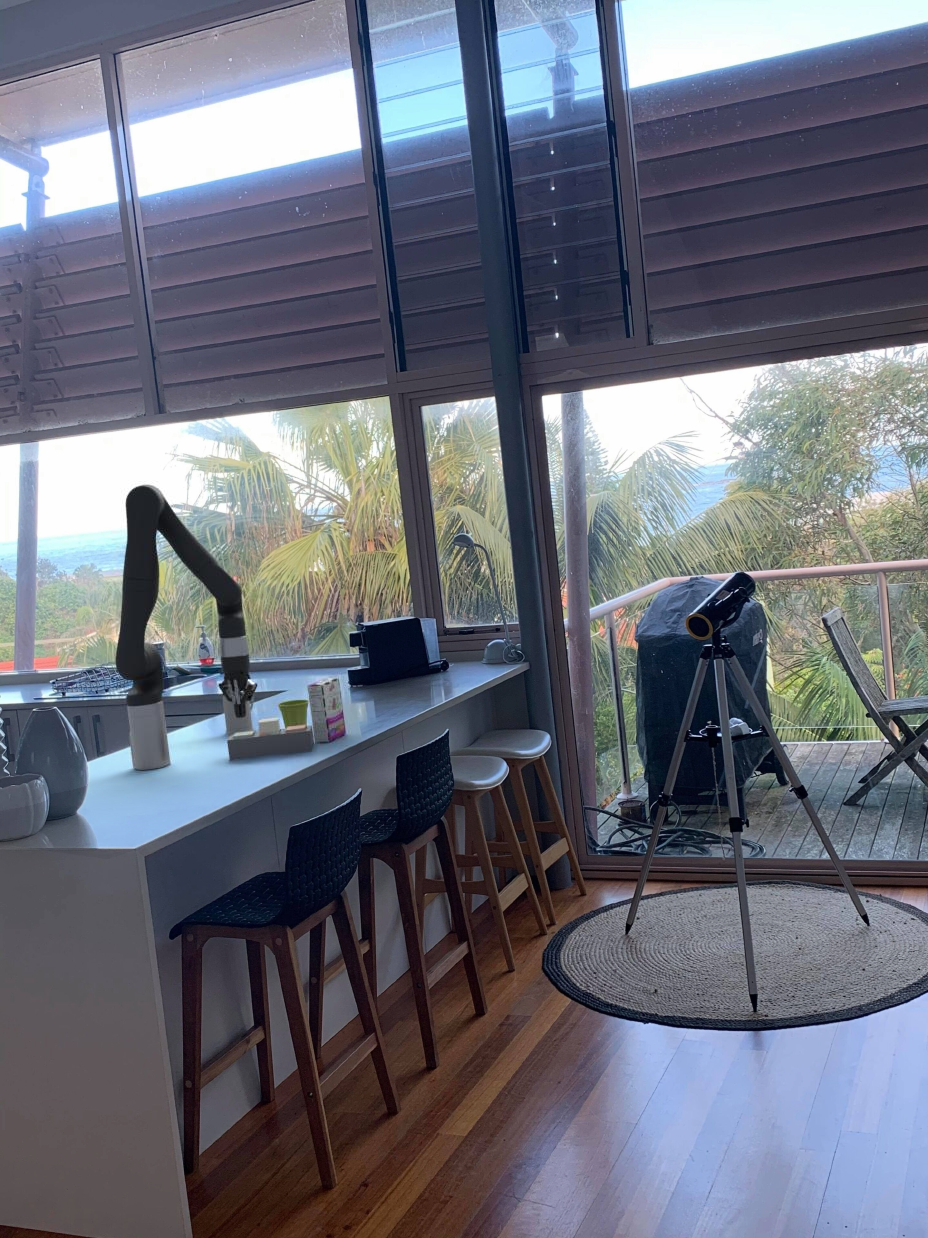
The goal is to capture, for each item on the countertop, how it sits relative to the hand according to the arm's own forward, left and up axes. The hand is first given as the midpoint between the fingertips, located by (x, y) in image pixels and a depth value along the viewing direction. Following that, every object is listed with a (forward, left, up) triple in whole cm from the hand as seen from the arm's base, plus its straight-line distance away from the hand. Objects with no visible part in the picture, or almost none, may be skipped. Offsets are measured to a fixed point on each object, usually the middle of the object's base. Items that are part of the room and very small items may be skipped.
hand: (241, 717), depth 307 cm
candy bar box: (+10, +23, -11) cm, 27 cm away
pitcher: (-31, +29, -11) cm, 44 cm away
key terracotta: (+11, +9, -9) cm, 17 cm away
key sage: (+1, 0, -9) cm, 9 cm away
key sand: (+6, +4, -7) cm, 10 cm away
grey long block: (+6, +4, -11) cm, 13 cm away
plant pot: (-10, +30, -11) cm, 34 cm away
